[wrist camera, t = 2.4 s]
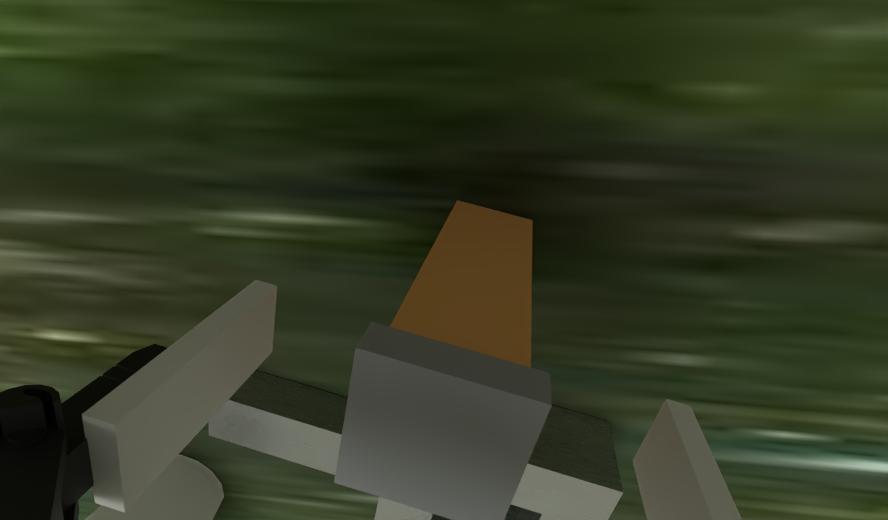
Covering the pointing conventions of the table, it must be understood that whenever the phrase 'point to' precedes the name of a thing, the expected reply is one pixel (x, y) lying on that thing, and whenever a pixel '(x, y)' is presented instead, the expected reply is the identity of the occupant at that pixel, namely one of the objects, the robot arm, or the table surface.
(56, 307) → the table surface
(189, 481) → the foam cup
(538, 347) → the table surface
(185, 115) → the table surface
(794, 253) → the table surface
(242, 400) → the grey angular stepped piece
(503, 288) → the wedge pin
